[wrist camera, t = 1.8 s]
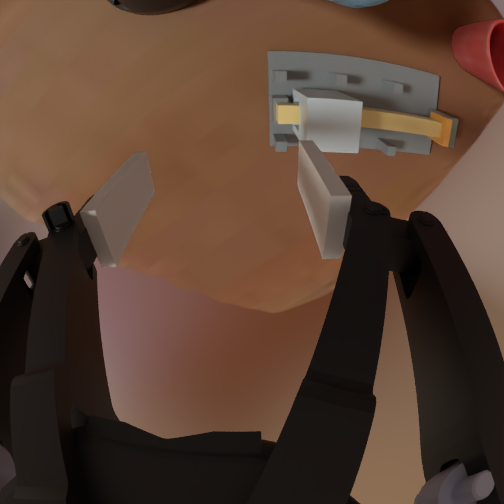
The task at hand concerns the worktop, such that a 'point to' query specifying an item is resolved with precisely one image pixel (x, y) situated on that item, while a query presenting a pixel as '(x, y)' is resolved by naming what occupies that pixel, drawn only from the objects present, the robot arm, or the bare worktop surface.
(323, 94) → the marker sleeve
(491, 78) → the flower pot
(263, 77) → the worktop surface
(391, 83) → the cable comb
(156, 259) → the worktop surface
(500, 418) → the robot arm
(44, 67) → the worktop surface
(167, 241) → the worktop surface
